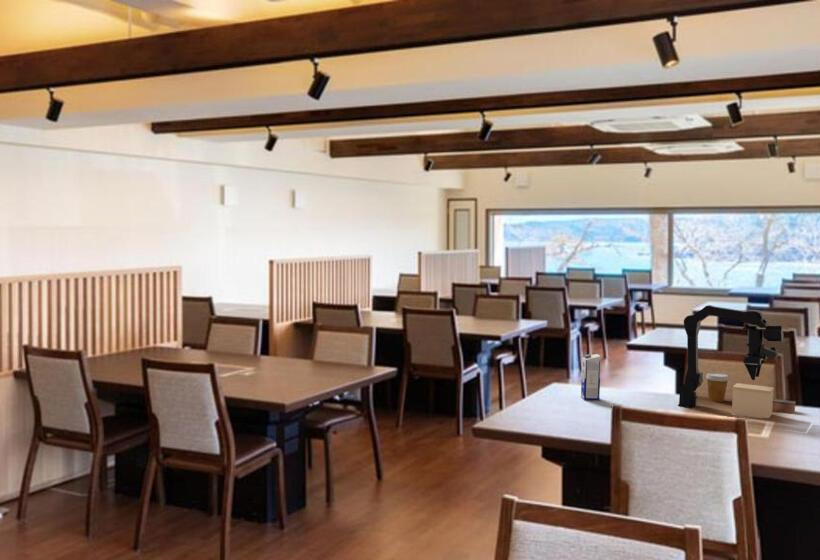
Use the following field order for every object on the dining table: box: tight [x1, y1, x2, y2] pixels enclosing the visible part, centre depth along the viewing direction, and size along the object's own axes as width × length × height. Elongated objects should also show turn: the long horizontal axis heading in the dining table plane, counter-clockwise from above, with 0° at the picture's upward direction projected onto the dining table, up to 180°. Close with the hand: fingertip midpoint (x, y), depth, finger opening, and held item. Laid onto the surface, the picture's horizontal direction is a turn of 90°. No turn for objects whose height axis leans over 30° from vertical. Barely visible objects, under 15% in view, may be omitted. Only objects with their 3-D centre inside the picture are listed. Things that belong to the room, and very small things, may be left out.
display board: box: [731, 412, 764, 420], centre depth 320 cm, size 24×13×1 cm, turn 57°
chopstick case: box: [772, 398, 797, 414], centre depth 333 cm, size 20×5×5 cm, turn 57°
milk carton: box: [580, 353, 602, 402], centre depth 346 cm, size 7×7×20 cm
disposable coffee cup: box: [705, 372, 730, 403], centre depth 348 cm, size 10×10×12 cm
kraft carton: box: [731, 382, 775, 419], centre depth 322 cm, size 14×9×11 cm, turn 57°
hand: (755, 378), depth 321 cm, fingers open, 9 cm apart
